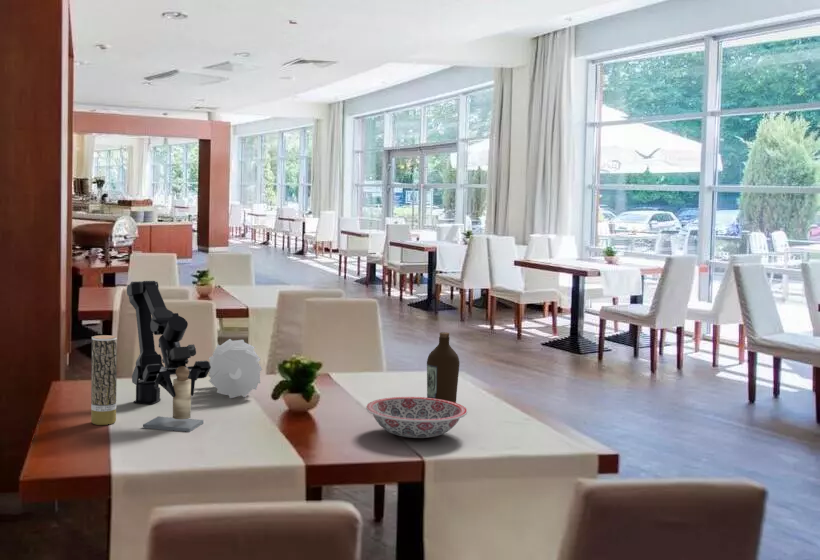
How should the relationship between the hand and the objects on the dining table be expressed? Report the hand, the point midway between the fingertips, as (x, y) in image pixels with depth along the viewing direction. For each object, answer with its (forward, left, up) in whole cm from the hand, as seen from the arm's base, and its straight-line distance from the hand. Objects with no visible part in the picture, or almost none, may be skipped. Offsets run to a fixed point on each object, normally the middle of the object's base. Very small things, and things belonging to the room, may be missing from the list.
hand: (183, 395), depth 256 cm
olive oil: (+69, +46, -9) cm, 84 cm away
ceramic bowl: (+66, +11, -9) cm, 68 cm away
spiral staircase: (-2, +47, -9) cm, 48 cm away
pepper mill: (-1, +1, -7) cm, 7 cm away
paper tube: (-23, -3, -9) cm, 25 cm away
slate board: (-3, 0, -9) cm, 9 cm away
